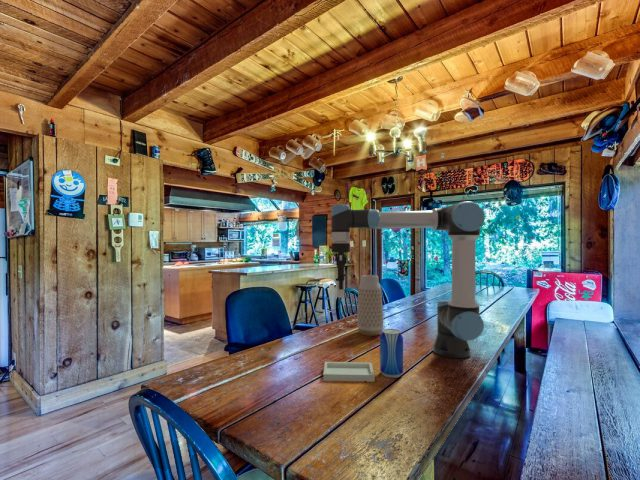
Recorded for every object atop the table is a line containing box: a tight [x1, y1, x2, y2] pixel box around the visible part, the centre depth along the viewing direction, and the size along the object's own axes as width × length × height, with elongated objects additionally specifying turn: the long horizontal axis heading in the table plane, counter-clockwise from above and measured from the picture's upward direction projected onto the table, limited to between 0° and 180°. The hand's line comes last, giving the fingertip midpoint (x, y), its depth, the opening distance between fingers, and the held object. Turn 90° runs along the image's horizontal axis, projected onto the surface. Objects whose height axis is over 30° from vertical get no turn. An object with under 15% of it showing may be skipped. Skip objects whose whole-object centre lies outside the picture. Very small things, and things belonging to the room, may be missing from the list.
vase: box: [356, 274, 384, 337], centre depth 178 cm, size 14×14×31 cm
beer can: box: [379, 328, 404, 379], centre depth 124 cm, size 8×8×16 cm
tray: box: [322, 361, 376, 383], centre depth 124 cm, size 18×12×2 cm, turn 87°
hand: (340, 294), depth 136 cm, fingers open, 13 cm apart
